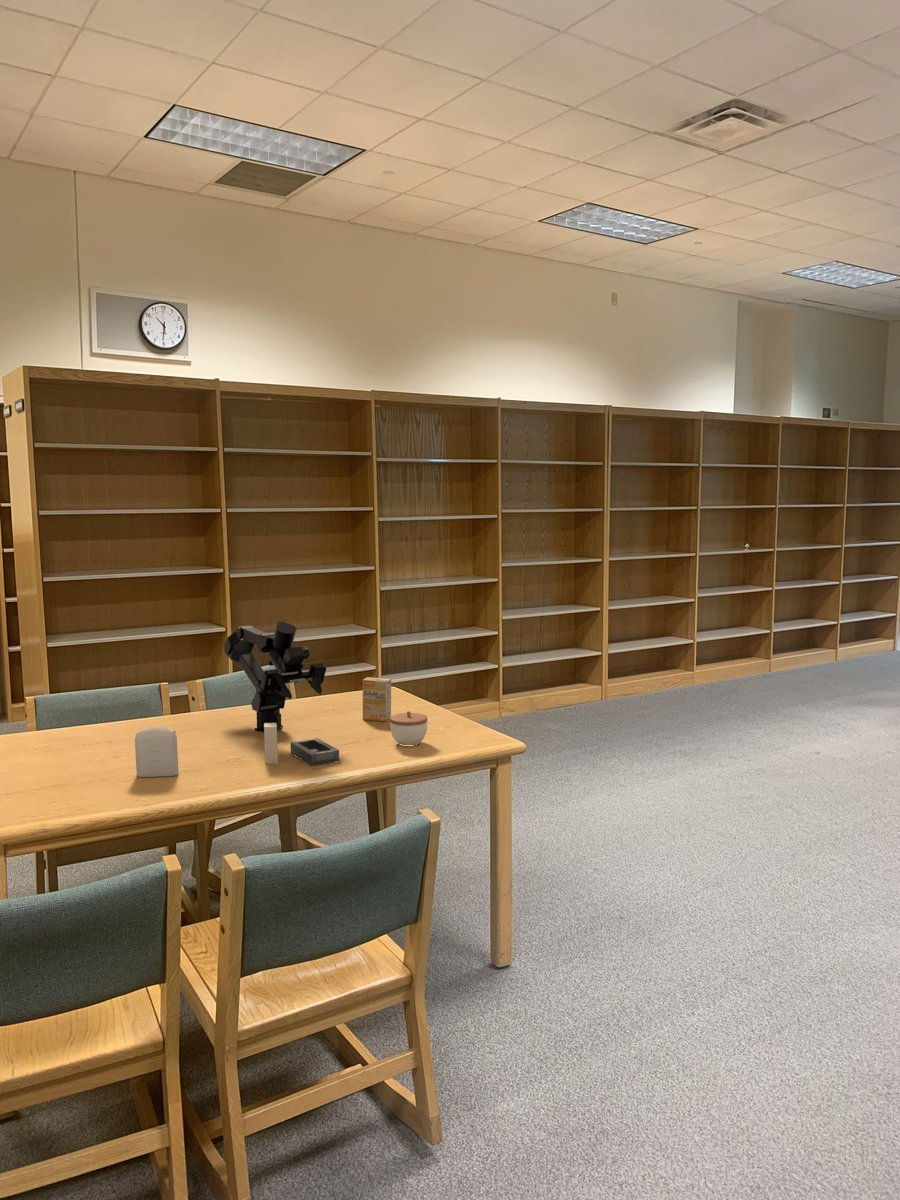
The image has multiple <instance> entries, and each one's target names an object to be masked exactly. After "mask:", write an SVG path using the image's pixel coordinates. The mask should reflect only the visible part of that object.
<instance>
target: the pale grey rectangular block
mask: <svg viewBox="0 0 900 1200" xmlns="http://www.w3.org/2000/svg"><path fill="white" fill-rule="evenodd" d="M263 733H264V735H263V736H264V737H263V738H264V761H265V762H264V764H265V763H274V764H278V763H279V762H278V730H277V724H276V723H264V731H263Z"/></svg>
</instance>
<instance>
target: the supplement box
mask: <svg viewBox="0 0 900 1200" xmlns="http://www.w3.org/2000/svg"><path fill="white" fill-rule="evenodd" d="M391 716H392V679H391V678H384V677H383V678H382V677H372V676H371V677H369V676H367V677H365V678H363V679H362V720H363V721H375V720H377V722H385V721H386V722H388V721H390V717H391ZM387 720H388V721H387Z"/></svg>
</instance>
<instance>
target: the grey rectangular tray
mask: <svg viewBox="0 0 900 1200" xmlns="http://www.w3.org/2000/svg"><path fill="white" fill-rule="evenodd" d="M289 743H290V754H292V755H293V754H294V756H295V755H296V756H297V757H296V756H295V757H296V758H298V757H299V758H298V759H300V758H301V759H302V761H303V760H304V761H305V763H306V762H307V763H306V764H308V765H309V764H310V765H309V766H311V767H314V766H319V764H320V765H325V763H326V764H330V762H331V763H336V762H335V761H337V762H340V750H339V749H338V748H336V747H335V746H332V745H331V744H329V743H328V742H326V741H324V740H321V739H320V738H318V737H315V738H309V739H303V740H297V741H296V740H295V741H291V742H289ZM301 759H300V760H301ZM304 761H303V762H304Z"/></svg>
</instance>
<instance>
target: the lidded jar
mask: <svg viewBox="0 0 900 1200" xmlns="http://www.w3.org/2000/svg"><path fill="white" fill-rule="evenodd" d="M428 718H429V717H428V716H427V715H425V714H422V713H418V712H411V711H406V712H402V713H396V714H393V715H391V717H390V719H389V722H390V723H389V725H390V733H391V736H392V737H393V740H395V742H396V743H397V744H398V743H399V744H402V745H416V744H419V743H421V742H422V741H423V740H424V739H425V737H426V734H427V729H428ZM399 744H398V745H399ZM419 745H420V744H419Z"/></svg>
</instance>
